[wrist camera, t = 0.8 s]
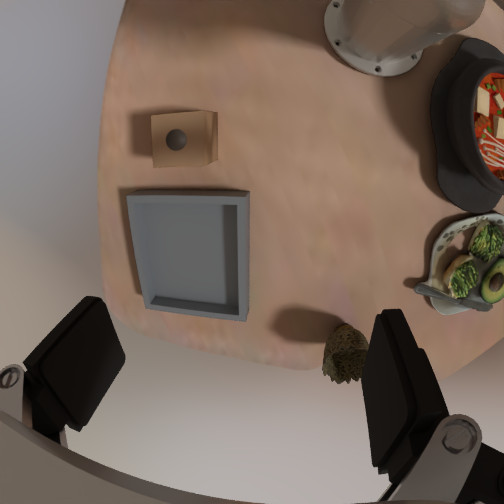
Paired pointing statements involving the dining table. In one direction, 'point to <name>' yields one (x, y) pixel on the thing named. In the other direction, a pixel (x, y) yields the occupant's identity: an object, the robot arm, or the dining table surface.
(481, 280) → the salad plate
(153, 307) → the tray
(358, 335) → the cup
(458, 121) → the casserole
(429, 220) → the dining table surface
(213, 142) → the walnut block
